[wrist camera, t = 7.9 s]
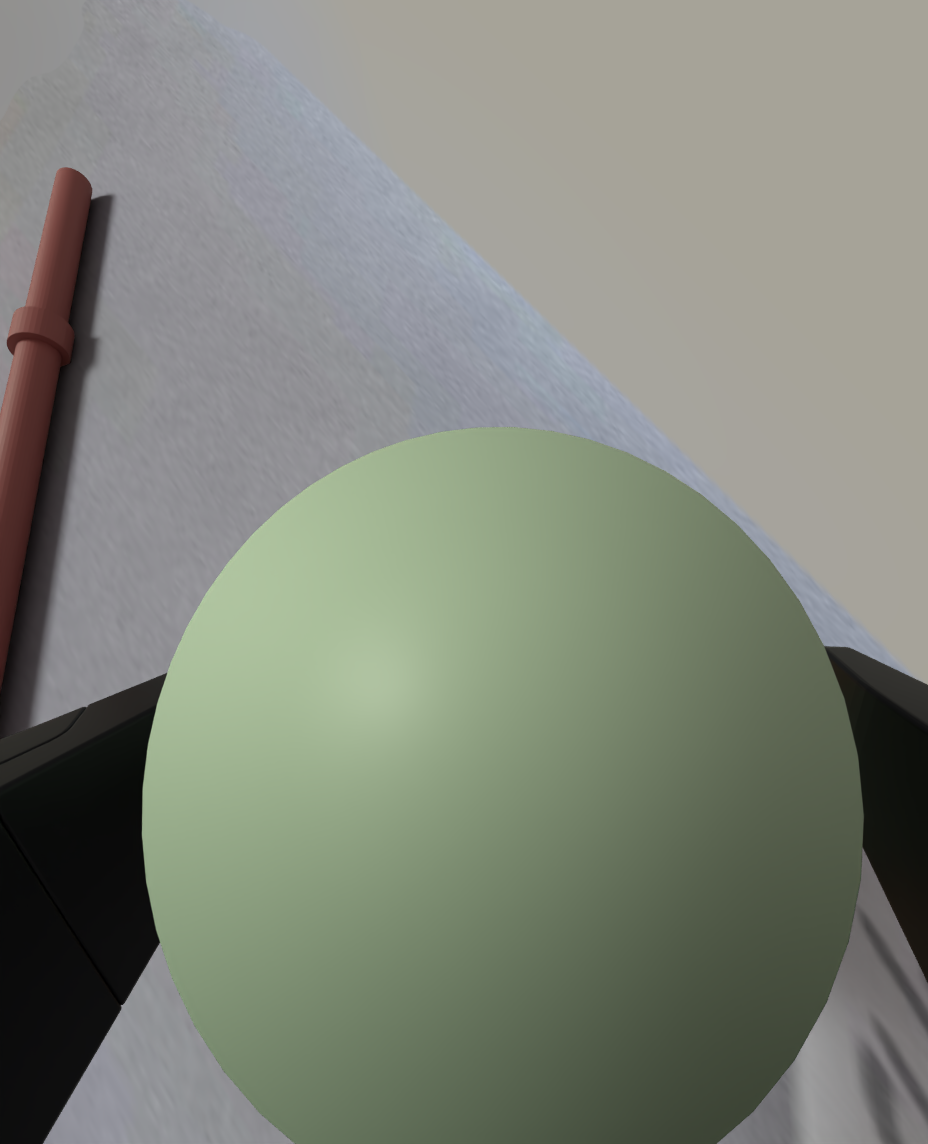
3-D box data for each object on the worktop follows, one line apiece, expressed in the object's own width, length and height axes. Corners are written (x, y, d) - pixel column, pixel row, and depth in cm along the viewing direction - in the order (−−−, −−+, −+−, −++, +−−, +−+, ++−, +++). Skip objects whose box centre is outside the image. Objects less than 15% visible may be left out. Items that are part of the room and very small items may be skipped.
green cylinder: (689, 767, 15) (1077, 772, 3) (549, 902, 15) (379, 1498, 3) (555, 631, 17) (485, 335, 5) (431, 744, 17) (59, 694, 5)
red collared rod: (76, 209, 41) (37, 167, 38) (109, 195, 41) (73, 152, 38) (-44, 813, 24) (-131, 820, 21) (11, 801, 23) (-69, 806, 20)
